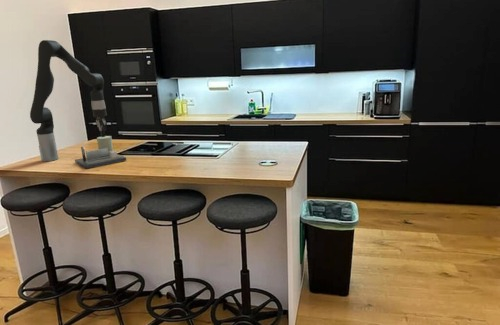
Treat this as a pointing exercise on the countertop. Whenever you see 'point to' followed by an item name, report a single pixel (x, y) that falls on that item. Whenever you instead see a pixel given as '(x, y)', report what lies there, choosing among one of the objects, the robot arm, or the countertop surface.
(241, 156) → the countertop surface
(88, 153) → the rack door
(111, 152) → the fader
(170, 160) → the countertop surface
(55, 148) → the robot arm
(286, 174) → the countertop surface
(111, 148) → the can
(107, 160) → the grey holder base
